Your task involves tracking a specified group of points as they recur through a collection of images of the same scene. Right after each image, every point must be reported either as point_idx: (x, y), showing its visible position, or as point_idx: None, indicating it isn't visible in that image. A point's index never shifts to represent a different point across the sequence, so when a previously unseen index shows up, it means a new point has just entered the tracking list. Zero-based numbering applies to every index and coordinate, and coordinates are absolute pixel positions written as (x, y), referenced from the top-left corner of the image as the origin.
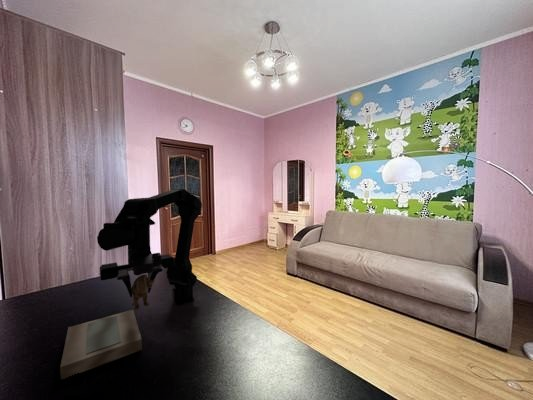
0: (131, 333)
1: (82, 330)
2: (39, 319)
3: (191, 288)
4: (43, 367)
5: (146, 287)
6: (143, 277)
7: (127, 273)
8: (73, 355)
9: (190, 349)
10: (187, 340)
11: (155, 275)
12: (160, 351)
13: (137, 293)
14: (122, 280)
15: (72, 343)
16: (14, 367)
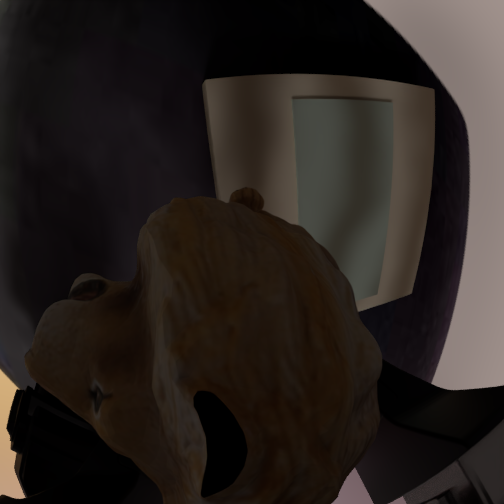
0: (249, 149)
1: (392, 262)
2: (412, 358)
3: (37, 389)
4: (435, 170)
5: (146, 232)
6: (248, 494)
7: (479, 478)
8: (416, 123)
9: (41, 29)
10: (37, 82)
11: (83, 476)
12: (135, 46)
13: (285, 221)
14: (480, 389)
15: (417, 197)
16: (461, 205)
